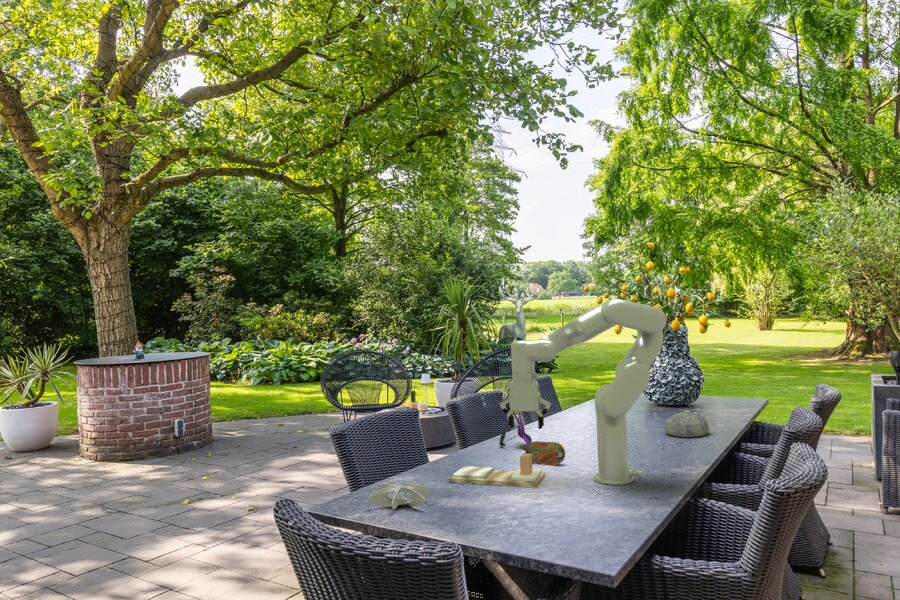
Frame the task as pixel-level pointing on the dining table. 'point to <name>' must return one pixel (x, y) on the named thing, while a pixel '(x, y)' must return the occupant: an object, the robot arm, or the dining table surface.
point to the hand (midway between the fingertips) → (526, 428)
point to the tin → (546, 452)
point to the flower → (520, 432)
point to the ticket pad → (491, 477)
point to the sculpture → (407, 487)
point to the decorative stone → (686, 425)
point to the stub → (526, 469)
